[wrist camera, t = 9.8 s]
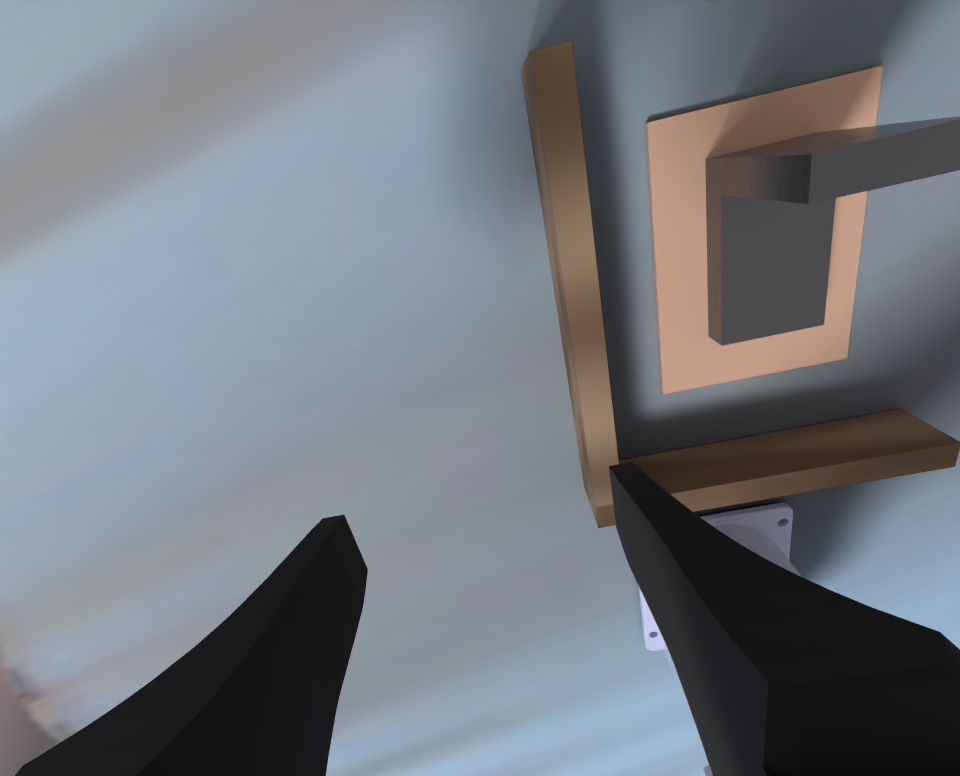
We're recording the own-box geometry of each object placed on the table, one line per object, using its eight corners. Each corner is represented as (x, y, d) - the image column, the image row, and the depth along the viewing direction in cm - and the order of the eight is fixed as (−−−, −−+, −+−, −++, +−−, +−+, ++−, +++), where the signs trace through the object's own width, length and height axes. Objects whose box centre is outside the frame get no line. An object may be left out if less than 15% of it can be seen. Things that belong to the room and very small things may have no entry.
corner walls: (896, 430, 22) (954, 466, 20) (584, 486, 24) (598, 528, 21) (984, -49, 15) (1098, -98, 12) (520, 70, 16) (530, 50, 13)
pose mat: (843, 356, 21) (846, 358, 21) (661, 392, 21) (663, 394, 21) (878, 66, 16) (882, 65, 16) (645, 123, 17) (647, 122, 17)
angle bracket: (705, 158, 17) (811, 154, 12) (818, 131, 17) (982, 114, 11) (708, 336, 20) (795, 398, 15) (804, 316, 20) (930, 372, 14)
